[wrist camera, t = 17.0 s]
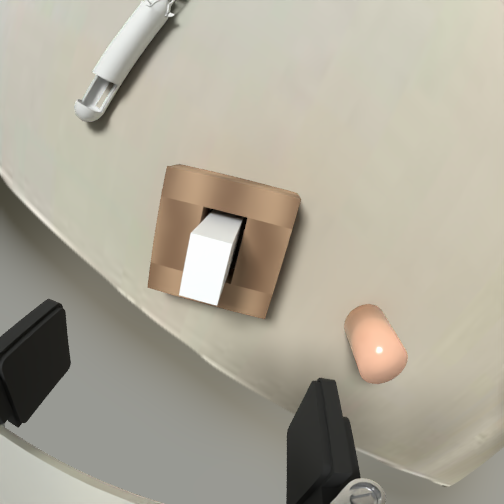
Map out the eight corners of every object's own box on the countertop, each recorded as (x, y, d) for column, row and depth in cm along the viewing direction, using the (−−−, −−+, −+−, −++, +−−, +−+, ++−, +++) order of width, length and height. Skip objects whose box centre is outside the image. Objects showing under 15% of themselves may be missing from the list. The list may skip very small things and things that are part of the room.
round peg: (390, 308, 33) (416, 347, 26) (374, 343, 35) (393, 385, 27) (353, 300, 33) (373, 339, 26) (338, 336, 35) (351, 380, 27)
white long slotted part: (106, 130, 29) (73, 128, 23) (78, 112, 29) (43, 109, 22) (200, -4, 24) (185, -32, 18) (167, -17, 23) (147, -44, 17)
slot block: (297, 193, 30) (301, 199, 26) (265, 300, 34) (264, 319, 30) (179, 164, 30) (167, 166, 26) (160, 272, 34) (147, 287, 30)
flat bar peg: (244, 215, 31) (232, 244, 22) (232, 260, 33) (216, 305, 23) (215, 207, 31) (190, 233, 22) (205, 253, 33) (178, 295, 23)
